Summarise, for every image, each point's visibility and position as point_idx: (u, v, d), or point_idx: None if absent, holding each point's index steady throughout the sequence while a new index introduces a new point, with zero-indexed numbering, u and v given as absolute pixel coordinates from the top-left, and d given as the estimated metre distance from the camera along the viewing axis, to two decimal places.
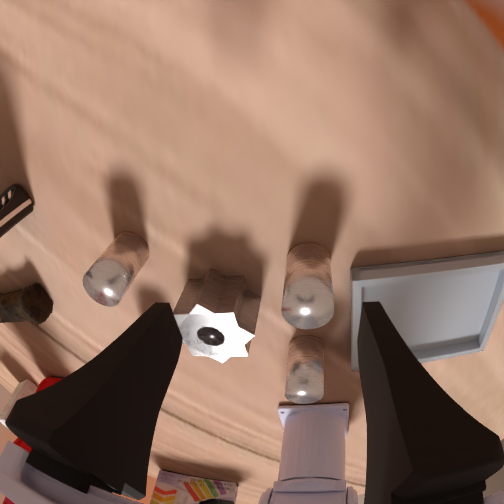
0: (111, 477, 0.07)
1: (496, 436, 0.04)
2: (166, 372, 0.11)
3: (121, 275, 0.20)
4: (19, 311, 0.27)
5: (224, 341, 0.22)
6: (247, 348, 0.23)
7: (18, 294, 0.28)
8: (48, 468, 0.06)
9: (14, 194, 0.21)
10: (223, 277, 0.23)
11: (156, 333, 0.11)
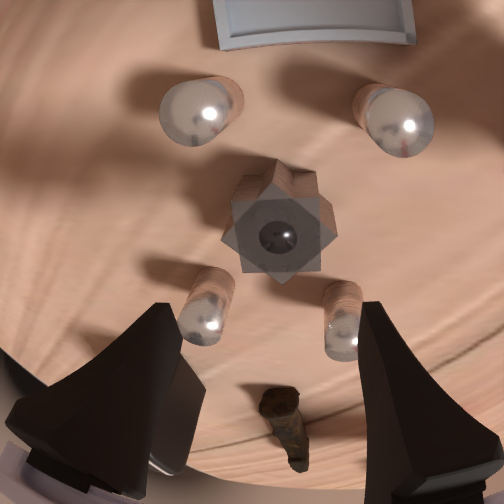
0: (111, 477, 0.07)
1: (496, 436, 0.04)
2: (166, 372, 0.11)
3: (191, 305, 0.20)
4: (277, 423, 0.29)
5: (286, 222, 0.16)
6: (310, 194, 0.16)
7: None
8: (48, 468, 0.06)
9: None
10: None
11: (156, 333, 0.11)
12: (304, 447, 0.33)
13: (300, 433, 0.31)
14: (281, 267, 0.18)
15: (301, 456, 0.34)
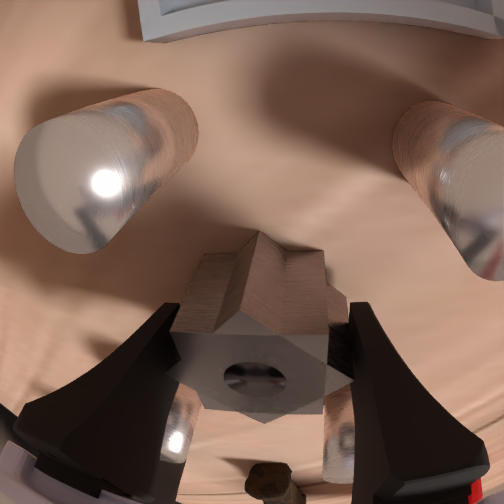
0: (122, 481, 0.07)
1: (480, 441, 0.04)
2: None
3: None
4: (267, 499, 0.22)
5: (267, 364, 0.09)
6: (313, 324, 0.08)
7: None
8: (48, 468, 0.06)
9: None
10: None
11: (166, 334, 0.11)
12: None
13: (294, 502, 0.24)
14: (262, 409, 0.10)
15: None
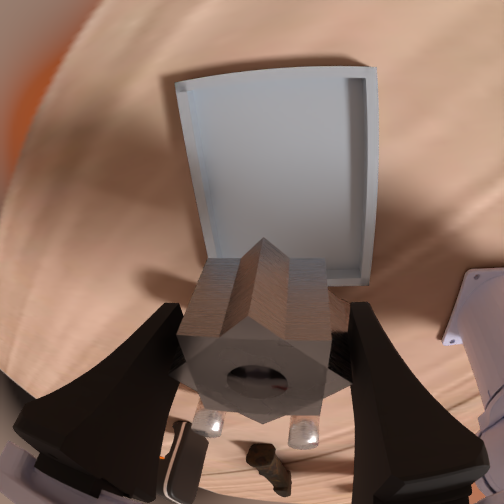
0: (122, 481, 0.07)
1: (481, 440, 0.04)
2: None
3: (200, 417, 0.28)
4: (260, 468, 0.37)
5: (270, 368, 0.09)
6: (316, 330, 0.09)
7: None
8: (48, 468, 0.06)
9: (174, 429, 0.37)
10: None
11: (166, 334, 0.11)
12: (284, 480, 0.41)
13: (279, 473, 0.39)
14: (261, 410, 0.11)
15: (283, 486, 0.42)
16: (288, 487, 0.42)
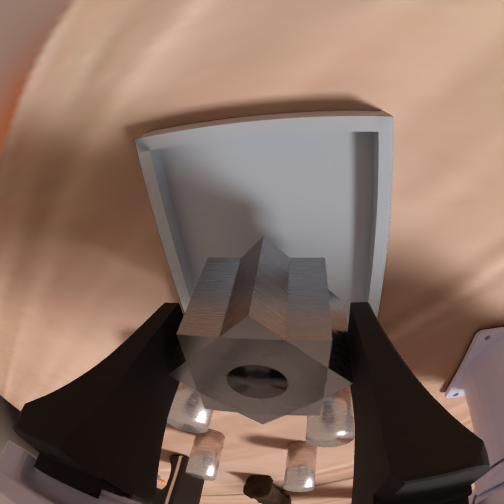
0: (122, 481, 0.07)
1: (480, 440, 0.04)
2: None
3: (194, 463, 0.25)
4: (258, 498, 0.34)
5: (271, 367, 0.09)
6: (317, 329, 0.09)
7: None
8: (48, 468, 0.06)
9: (171, 462, 0.34)
10: None
11: (166, 333, 0.11)
12: None
13: (277, 501, 0.36)
14: (261, 410, 0.11)
15: None
16: None
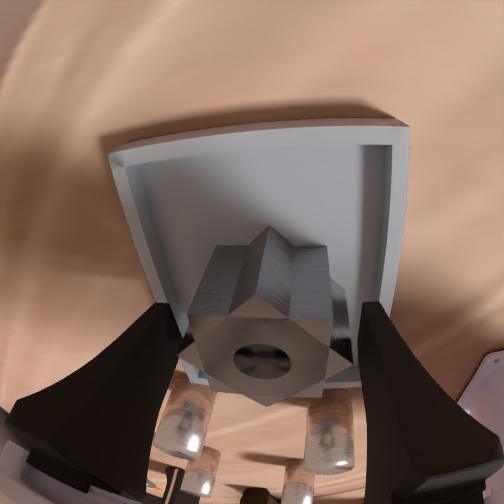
0: (111, 477, 0.07)
1: (496, 436, 0.04)
2: (166, 372, 0.11)
3: (189, 481, 0.23)
4: None
5: (275, 346, 0.10)
6: (319, 309, 0.09)
7: None
8: (48, 468, 0.06)
9: (166, 475, 0.32)
10: None
11: (156, 333, 0.11)
12: None
13: None
14: (265, 391, 0.11)
15: None
16: None
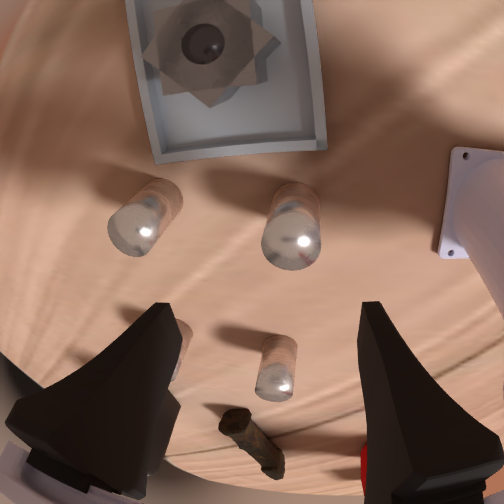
0: (111, 477, 0.07)
1: (496, 436, 0.04)
2: (166, 371, 0.11)
3: None
4: (236, 439, 0.34)
5: (211, 23, 0.11)
6: None
7: None
8: (48, 468, 0.06)
9: None
10: None
11: (156, 333, 0.11)
12: (271, 458, 0.38)
13: (261, 447, 0.36)
14: (207, 82, 0.13)
15: (272, 466, 0.38)
16: (278, 467, 0.39)
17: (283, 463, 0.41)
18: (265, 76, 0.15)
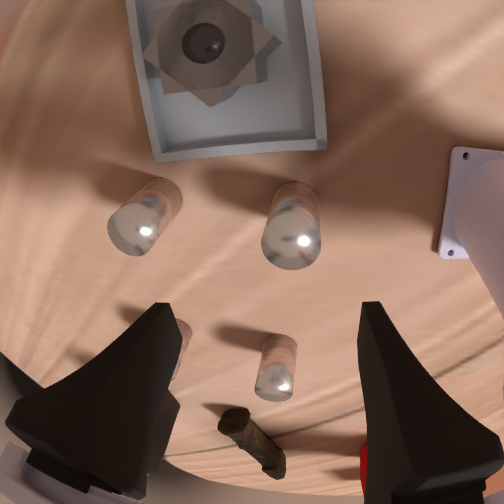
0: (111, 477, 0.07)
1: (496, 436, 0.04)
2: (166, 371, 0.11)
3: None
4: (235, 438, 0.34)
5: (211, 23, 0.11)
6: None
7: None
8: (48, 468, 0.06)
9: None
10: None
11: (156, 333, 0.11)
12: (272, 458, 0.38)
13: (261, 446, 0.36)
14: (207, 81, 0.13)
15: (272, 466, 0.38)
16: (278, 466, 0.39)
17: (284, 463, 0.41)
18: (265, 75, 0.15)
